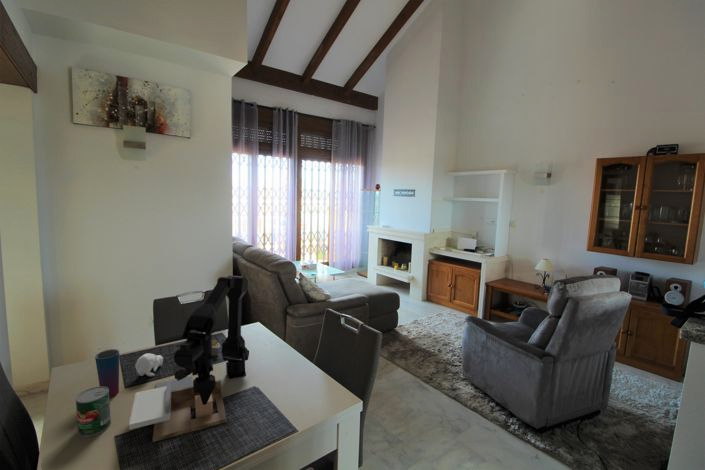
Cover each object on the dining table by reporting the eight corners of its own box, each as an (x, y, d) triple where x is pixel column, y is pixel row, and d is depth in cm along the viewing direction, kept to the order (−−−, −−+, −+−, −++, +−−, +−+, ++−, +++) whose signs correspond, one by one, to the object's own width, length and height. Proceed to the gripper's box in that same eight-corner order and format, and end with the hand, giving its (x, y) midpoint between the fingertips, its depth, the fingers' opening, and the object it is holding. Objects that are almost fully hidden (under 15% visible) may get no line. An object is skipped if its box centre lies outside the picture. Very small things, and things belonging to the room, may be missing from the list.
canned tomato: (74, 440, 96) (71, 404, 95) (83, 422, 103) (80, 389, 102) (107, 432, 99) (104, 398, 98) (114, 416, 106) (111, 384, 105)
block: (211, 406, 113) (211, 392, 112) (213, 415, 109) (212, 400, 108) (195, 410, 111) (194, 396, 110) (196, 419, 106) (195, 404, 106)
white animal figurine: (133, 357, 126) (153, 345, 138) (133, 379, 126) (153, 365, 138) (149, 357, 126) (168, 346, 138) (149, 380, 126) (168, 366, 138)
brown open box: (220, 394, 119) (220, 379, 119) (226, 422, 105) (226, 406, 105) (156, 409, 110) (155, 393, 110) (152, 442, 96) (152, 424, 95)
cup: (109, 401, 114) (106, 359, 112) (92, 398, 115) (89, 357, 113) (126, 389, 120) (124, 350, 118) (110, 387, 121) (108, 348, 120)
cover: (171, 389, 112) (171, 379, 111) (170, 419, 97) (169, 408, 97) (136, 396, 107) (135, 386, 107) (129, 429, 93) (128, 418, 92)
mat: (191, 377, 129) (191, 376, 129) (192, 394, 119) (192, 393, 119) (156, 384, 124) (156, 383, 124) (153, 403, 113) (153, 402, 113)
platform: (202, 346, 156) (201, 332, 155) (236, 351, 152) (236, 337, 151) (184, 358, 144) (183, 344, 143) (221, 364, 141) (221, 349, 140)
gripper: (174, 343, 111) (176, 386, 114) (173, 371, 95) (175, 421, 97) (210, 337, 117) (211, 379, 119) (215, 362, 100) (216, 410, 102)
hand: (203, 396), depth 109 cm, fingers open, 9 cm apart
